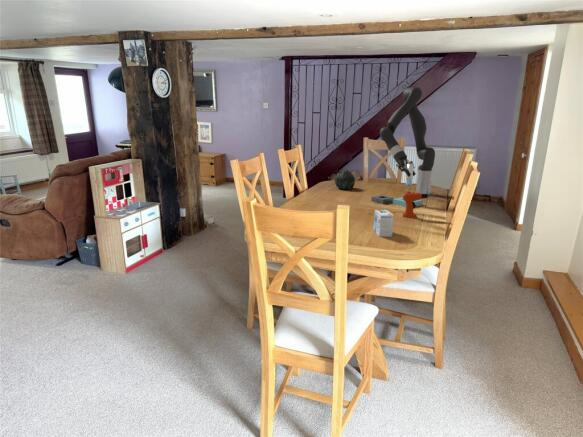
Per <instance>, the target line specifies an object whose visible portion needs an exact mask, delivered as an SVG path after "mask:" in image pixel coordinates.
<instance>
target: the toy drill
mask: <svg viewBox="0 0 583 437" xmlns="http://www.w3.org/2000/svg"><path fill="white" fill-rule="evenodd" d="M437 196H438V194H429V195H427V194H421V193H418V192H416V191H415V192H413V191H412V192H411V191H406V192H405V193H404V194H403V195H402V197H403V200H404V201H405V202H406V207H405V211H404V212H402V218H405V217H406V218H408V219H416V218H417V217H418V215H417V214H415V213H414V210H415V208H417V206H416V205H415V203H414V201H417V200H423V199H428V197H430V198H431V197H437ZM406 218H405V219H406Z"/></svg>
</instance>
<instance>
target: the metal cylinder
mask: <svg viewBox="0 0 583 437" xmlns="http://www.w3.org/2000/svg"><path fill="white" fill-rule="evenodd" d="M414 167H415V165H414V163H413V164H410V163H409V164H407V169H408V171H409V172H410V174H411V176H409V177H408V176H407V174H406V173H405V174H406V176H405V187H408V188H410V187H413V179H414V176H413V170H414V169H415V168H414ZM413 168H414V169H413Z"/></svg>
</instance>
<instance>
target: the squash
mask: <svg viewBox="0 0 583 437" xmlns="http://www.w3.org/2000/svg"><path fill="white" fill-rule="evenodd" d="M355 179H356V178H355V176H354V175H353V173H351V171H349V170H343V171H341V172H339V173H338V174H337V175H336V176H335V178H334V183H335V186H336V187H337V188H338V189H342V190H344V191H345V190H347V191H349V190H351V189H353V188H354V187H355V185H356V184H355V183H356V180H355Z"/></svg>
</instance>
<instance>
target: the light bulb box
mask: <svg viewBox="0 0 583 437" xmlns="http://www.w3.org/2000/svg"><path fill="white" fill-rule="evenodd" d="M394 218H395V215H394V214H393V213H392V212H390V211H389V210H388V209H375V210H374V217H373V232H374V233H375V234H376V235H377V237H383V238H384V237H387V238H388V237H391V238H392V237H393V228H394Z"/></svg>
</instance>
